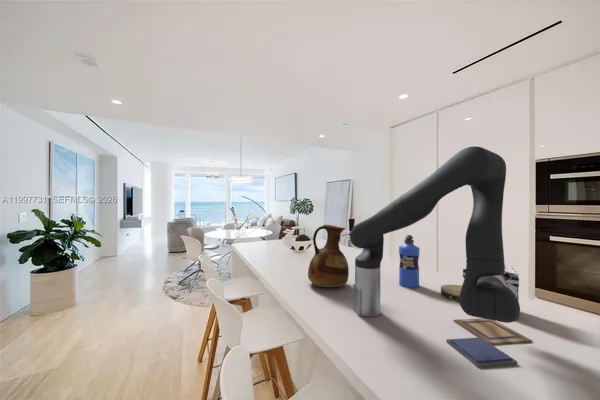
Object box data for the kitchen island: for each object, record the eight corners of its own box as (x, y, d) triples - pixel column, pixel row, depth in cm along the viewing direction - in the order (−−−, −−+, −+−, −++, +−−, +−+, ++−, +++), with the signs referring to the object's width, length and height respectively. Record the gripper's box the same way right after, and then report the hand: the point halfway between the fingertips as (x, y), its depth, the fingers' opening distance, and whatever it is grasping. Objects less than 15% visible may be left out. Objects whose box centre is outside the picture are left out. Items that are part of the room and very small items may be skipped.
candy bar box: (496, 305, 97) (496, 264, 97) (512, 309, 94) (512, 266, 94) (501, 317, 87) (500, 271, 87) (519, 320, 85) (519, 273, 85)
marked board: (489, 344, 70) (489, 342, 70) (453, 321, 84) (453, 319, 84) (532, 342, 71) (532, 340, 71) (489, 319, 85) (489, 317, 85)
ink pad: (477, 367, 60) (477, 362, 60) (446, 342, 71) (446, 338, 71) (517, 364, 61) (517, 359, 61) (480, 340, 72) (480, 336, 72)
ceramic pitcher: (352, 292, 111) (352, 226, 111) (308, 291, 111) (308, 226, 111) (344, 278, 130) (345, 223, 131) (307, 278, 131) (307, 222, 131)
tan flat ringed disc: (451, 288, 117) (451, 282, 117) (491, 300, 103) (491, 292, 103) (433, 295, 108) (433, 288, 109) (473, 308, 95) (473, 300, 95)
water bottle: (401, 281, 127) (401, 233, 127) (421, 284, 121) (421, 234, 121) (396, 286, 119) (396, 235, 119) (417, 290, 114) (417, 237, 114)
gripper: (523, 275, 62) (518, 263, 76) (458, 265, 71) (464, 256, 85) (523, 304, 62) (518, 287, 76) (458, 291, 71) (464, 278, 84)
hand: (489, 271), depth 80 cm, fingers closed on cork, 3 cm apart
